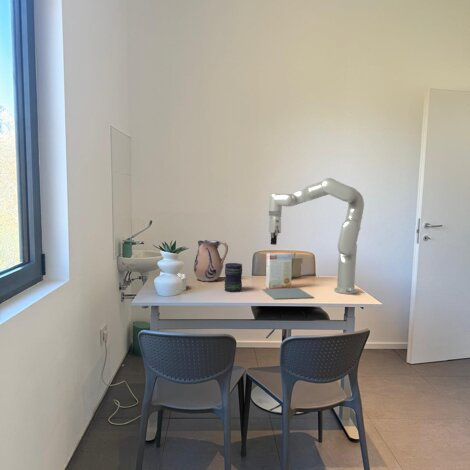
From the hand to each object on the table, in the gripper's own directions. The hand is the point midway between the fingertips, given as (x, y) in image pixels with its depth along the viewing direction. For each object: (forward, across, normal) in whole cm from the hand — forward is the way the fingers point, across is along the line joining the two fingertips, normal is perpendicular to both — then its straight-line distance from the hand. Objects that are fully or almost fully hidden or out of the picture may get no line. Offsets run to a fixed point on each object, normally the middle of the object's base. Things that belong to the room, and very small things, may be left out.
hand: (273, 244), depth 251 cm
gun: (+25, +16, -19) cm, 35 cm away
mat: (+24, -26, -1) cm, 35 cm away
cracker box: (+25, -10, -1) cm, 27 cm away
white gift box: (+26, -6, +58) cm, 64 cm away
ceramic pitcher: (+26, +16, +35) cm, 46 cm away
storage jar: (+25, -14, +27) cm, 39 cm away
